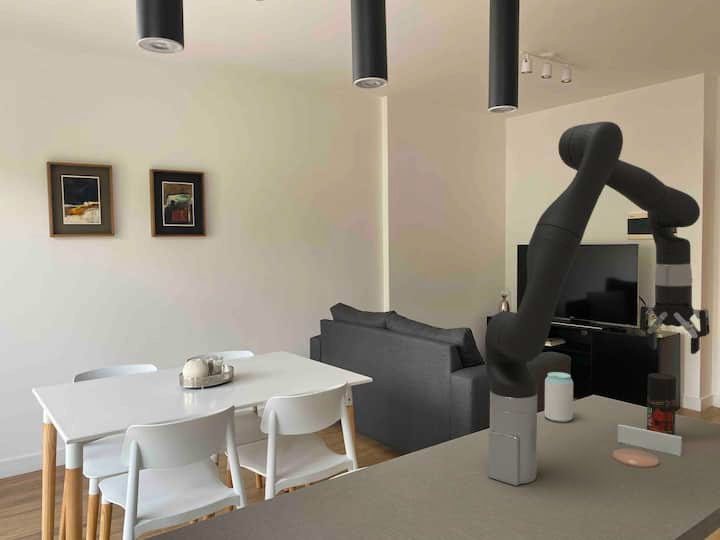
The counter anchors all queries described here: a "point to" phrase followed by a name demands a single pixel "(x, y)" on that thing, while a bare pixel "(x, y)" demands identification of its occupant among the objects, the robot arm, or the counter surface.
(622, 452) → the coaster
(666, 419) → the deodorant
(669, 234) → the robot arm
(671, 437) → the acrylic wall
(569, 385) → the can
